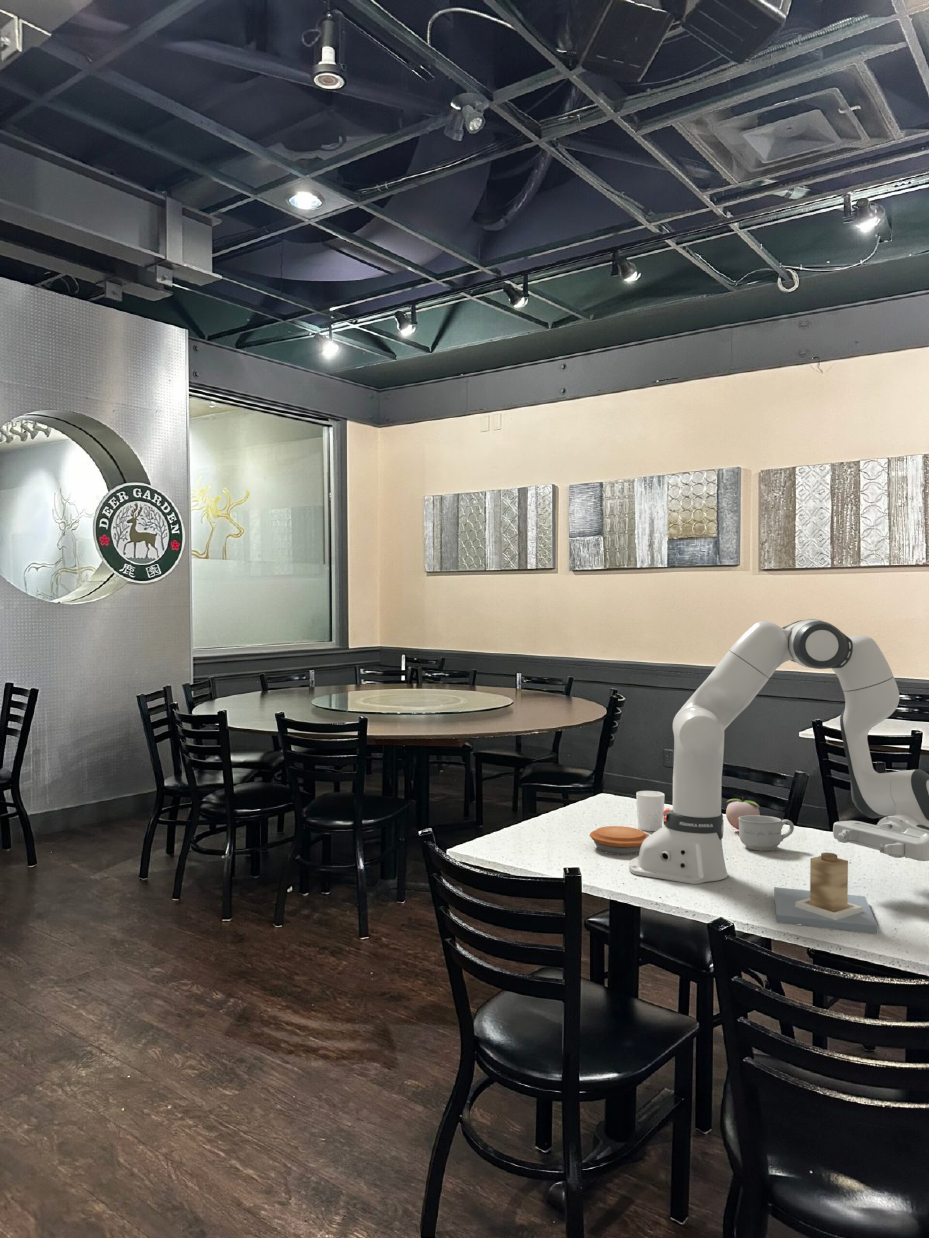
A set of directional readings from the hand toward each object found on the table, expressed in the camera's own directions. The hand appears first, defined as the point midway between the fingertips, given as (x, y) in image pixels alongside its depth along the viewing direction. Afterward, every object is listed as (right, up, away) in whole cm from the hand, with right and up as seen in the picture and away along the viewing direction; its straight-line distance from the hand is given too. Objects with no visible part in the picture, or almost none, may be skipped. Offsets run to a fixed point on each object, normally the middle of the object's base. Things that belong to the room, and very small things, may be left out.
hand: (861, 843), depth 178 cm
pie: (-43, -13, +43) cm, 62 cm away
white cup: (-30, -13, +65) cm, 73 cm away
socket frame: (-10, -11, -7) cm, 16 cm away
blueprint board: (-10, -13, -4) cm, 17 cm away
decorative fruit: (-5, -13, +62) cm, 63 cm away
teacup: (-4, -13, +45) cm, 47 cm away
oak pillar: (-10, -11, -7) cm, 16 cm away
